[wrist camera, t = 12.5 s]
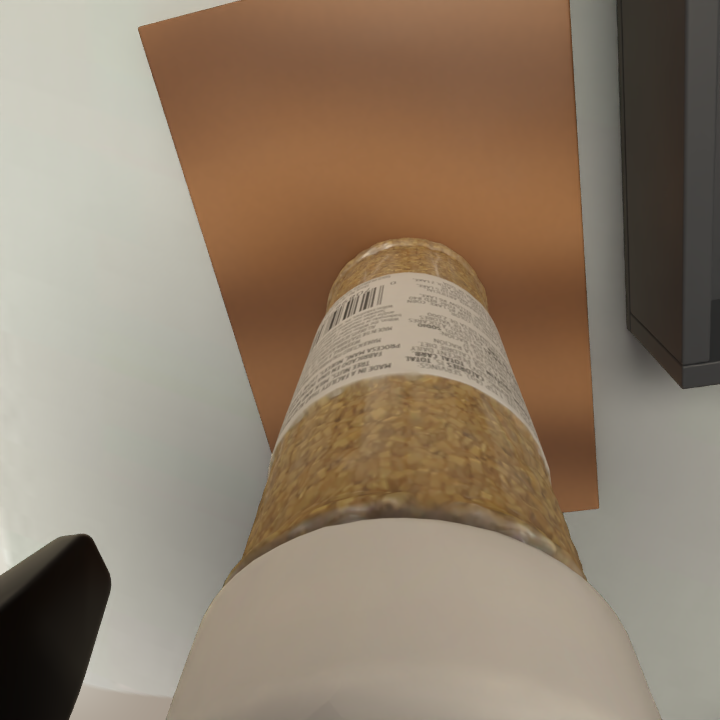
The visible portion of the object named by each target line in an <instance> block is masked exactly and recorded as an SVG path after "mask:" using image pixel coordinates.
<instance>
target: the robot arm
mask: <svg viewBox="0 0 720 720" xmlns="http://www.w3.org/2000/svg"><path fill="white" fill-rule="evenodd" d="M110 590H111V577H110V573H109V571H108V569H107V567H106V565H105V563H104V561H103V559H102V557H101V555H100V553H99V551H98V549H97V547H96V545H95V543H94V541H93V539H92V538H91V537H90V536H89V535H87V534H75V535H67V536H61V537H58V538H57V539H55V540H53V541H52V542H50V543H49V544H47V545H46V546H44V547H43V548H41V549H40V550H38V551H37V552H35V553H34V554H32V555H31V556H29V557H28V558H26V559H25V560H23V561H22V562H20V563H19V564H17V565H16V566H14V567H13V568H11V569H10V570H8V571H7V572H5V573H3V574H2V575H0V720H69V718H70V715H71V713H72V710H73V708H74V705H75V703H76V700H77V697H78V695H79V692H80V689H81V686H82V683H83V680H84V677H85V674H86V671H87V667H88V664H89V661H90V657H91V654H92V651H93V647H94V644H95V641H96V637H97V634H98V631H99V628H100V624H101V621H102V618H103V614H104V611H105V608H106V604H107V601H108V598H109V595H110Z"/></svg>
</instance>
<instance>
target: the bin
mask: <svg viewBox="0 0 720 720" xmlns="http://www.w3.org/2000/svg"><path fill="white" fill-rule="evenodd" d="M617 13H618V46H619V78H620V111H621V144H622V177H623V209H624V242H625V275H626V307H627V329H628V330H629V331H630V332H631V333H632V334H633V335H634V336H635V337H636V338H637V339H638V341H639V342H640V343H641V344H642V345H643V346H644V347H645V348H646V349H647V350H648V352H649V353H650V354H651V355H652V356H653V357H654V358H655V359H656V360H657V361H658V363H659V364H660V365H661V366H662V367H663V368H664V369H665V370H666V371H667V372H668V374H669V375H670V376H671V377H672V378H673V379H674V380H675V381H676V382H677V384H678V385H679V386H680V387H681V388H682V389H687V388H694V387H701V386H708V385H716V384H720V0H617Z"/></svg>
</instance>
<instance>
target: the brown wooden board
mask: <svg viewBox="0 0 720 720" xmlns="http://www.w3.org/2000/svg"><path fill="white" fill-rule="evenodd" d="M138 31H139V34H140V37H141V40H142V44H143V47H144V50H145V53H146V56H147V59H148V63H149V66H150V69H151V72H152V75H153V78H154V82H155V85H156V88H157V91H158V94H159V97H160V101H161V104H162V107H163V110H164V113H165V117H166V120H167V123H168V126H169V129H170V132H171V136H172V139H173V142H174V145H175V148H176V151H177V155H178V158H179V161H180V164H181V167H182V170H183V174H184V177H185V180H186V183H187V186H188V189H189V193H190V196H191V199H192V202H193V205H194V208H195V212H196V215H197V218H198V221H199V224H200V227H201V231H202V234H203V237H204V240H205V243H206V246H207V250H208V253H209V256H210V259H211V262H212V265H213V269H214V272H215V275H216V278H217V281H218V284H219V288H220V291H221V294H222V297H223V300H224V304H225V307H226V310H227V313H228V316H229V319H230V323H231V326H232V329H233V332H234V335H235V338H236V342H237V345H238V348H239V351H240V354H241V357H242V361H243V364H244V367H245V370H246V373H247V376H248V380H249V383H250V386H251V389H252V392H253V395H254V399H255V402H256V405H257V408H258V411H259V414H260V418H261V421H262V424H263V427H264V430H265V433H266V437H267V440H268V443H269V446H270V449H271V452H272V453H273V450H274V447H275V444H276V441H277V439H278V436H279V433H280V430H281V427H282V424H283V421H284V419H285V416H286V413H287V411H288V408H289V406H290V403H291V400H292V397H293V395H294V392H295V389H296V387H297V384H298V381H299V379H300V376H301V373H302V371H303V368H304V365H305V362H306V360H307V357H308V354H309V351H310V349H311V346H312V343H313V340H314V338H315V335H316V333H317V330H318V328H319V326H320V324H321V322H322V320H323V318H324V317H325V314H326V309H327V302H328V297H329V293H330V290H331V288H332V286H333V283H334V282H335V280H336V279H337V277H338V275H339V273H340V271H341V270H342V269H343V268H344V266H345V265H346V264H347V263H348V262H349V261H351V260H353V259H354V258H355V257H356V256H357V255H358V254H359V253H360V252H362V251H364V250H366V249H368V248H370V247H371V246H373V245H375V244H377V243H379V242H383V241H387V240H390V239H399V238H419V239H426V240H429V241H432V242H436V243H441V244H443V245H445V246H447V247H448V248H450V249H451V250H453V251H454V252H456V253H457V254H459V255H460V256H462V257H463V258H464V259H465V260H466V261H467V262H468V264H469V265H470V266H471V267H472V268H473V269H474V271H475V272H476V274H477V277H478V279H479V280H480V282H481V283H482V285H483V287H484V288H485V292H486V296H487V304H488V311H489V315H490V317H491V318H492V320H493V322H494V324H495V326H496V328H497V330H498V332H499V335H500V338H501V340H502V343H503V346H504V349H505V351H506V354H507V357H508V360H509V363H510V366H511V368H512V371H513V374H514V376H515V379H516V381H517V384H518V386H519V389H520V392H521V394H522V397H523V399H524V402H525V404H526V407H527V410H528V412H529V415H530V417H531V420H532V422H533V425H534V428H535V431H536V433H537V436H538V439H539V441H540V444H541V447H542V450H543V453H544V455H545V458H546V461H547V464H548V467H549V470H550V477H551V485H552V489H553V491H554V494H555V496H556V498H557V500H558V504H559V507H560V509H561V511H562V513H564V512H573V511H581V510H590V509H598V508H599V497H598V480H597V463H596V445H595V428H594V411H593V394H592V377H591V360H590V343H589V325H588V308H587V291H586V274H585V257H584V240H583V223H582V205H581V188H580V171H579V154H578V137H577V120H576V103H575V86H574V68H573V51H572V34H571V17H570V0H240V1H236V2H232V3H228V4H224V5H221V6H217V7H213V8H209V9H205V10H201V11H198V12H194V13H190V14H186V15H182V16H179V17H175V18H171V19H167V20H163V21H159V22H156V23H152V24H148V25H144V26H140V27H139V28H138Z"/></svg>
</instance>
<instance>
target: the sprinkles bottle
mask: <svg viewBox="0 0 720 720" xmlns="http://www.w3.org/2000/svg"><path fill="white" fill-rule="evenodd" d="M166 720H662V719H661V716H660V714H659V712H658V709H657V707H656V704H655V702H654V699H653V697H652V694H651V692H650V689H649V687H648V684H647V682H646V679H645V677H644V674H643V672H642V669H641V667H640V664H639V662H638V659H637V657H636V654H635V652H634V649H633V646H632V644H631V641H630V639H629V636H628V634H627V632H626V630H625V629H624V627H623V625H622V624H621V622H620V620H619V618H618V617H617V615H616V613H615V612H614V611H613V610H612V608H611V607H610V606H609V604H608V603H607V602H606V601H605V599H604V598H603V597H602V596H601V595H600V594H599V593H598V592H597V591H596V589H595V588H593V587H592V586H591V585H590V584H589V583H588V582H587V579H586V577H585V575H584V573H583V569H582V564H581V562H580V560H579V556H578V553H577V550H576V548H575V546H574V544H573V542H572V540H571V538H570V534H569V530H568V527H567V524H566V522H565V519H564V516H563V514H562V511H561V509H560V507H559V504H558V500H557V498H556V496H555V494H554V491H553V489H552V485H551V477H550V470H549V467H548V464H547V461H546V458H545V455H544V453H543V450H542V447H541V444H540V441H539V439H538V436H537V433H536V431H535V428H534V425H533V422H532V420H531V417H530V415H529V412H528V410H527V407H526V404H525V402H524V399H523V397H522V394H521V392H520V389H519V386H518V384H517V381H516V379H515V376H514V374H513V371H512V368H511V366H510V363H509V360H508V357H507V354H506V351H505V349H504V346H503V343H502V340H501V338H500V335H499V332H498V330H497V328H496V326H495V324H494V322H493V320H492V318H491V317H490V315H489V311H488V304H487V296H486V292H485V288H484V287H483V285H482V283H481V282H480V280H479V279H478V277H477V274H476V272H475V271H474V269H473V268H472V267H471V266H470V265H469V264H468V262H467V261H466V260H465V259H464V258H463V257H462V256H460V255H459V254H457V253H456V252H454V251H453V250H451V249H450V248H448V247H447V246H445V245H443V244H441V243H436V242H432V241H429V240H426V239H419V238H399V239H390V240H387V241H383V242H379V243H377V244H375V245H373V246H371V247H370V248H368V249H366V250H364V251H362V252H360V253H359V254H358V255H357V256H356V257H355V258H354V259H353V260H351V261H349V262H348V263H347V264H346V265H345V266H344V268H343V269H342V270H341V271H340V273H339V275H338V277H337V279H336V280H335V282H334V283H333V286H332V288H331V290H330V293H329V297H328V302H327V309H326V314H325V317H324V318H323V320H322V322H321V324H320V326H319V328H318V330H317V333H316V335H315V338H314V340H313V343H312V346H311V349H310V351H309V354H308V357H307V360H306V362H305V365H304V368H303V371H302V373H301V376H300V379H299V381H298V384H297V387H296V389H295V392H294V395H293V397H292V400H291V403H290V406H289V408H288V411H287V413H286V416H285V419H284V421H283V424H282V427H281V430H280V433H279V436H278V439H277V441H276V444H275V447H274V450H273V453H272V456H271V460H270V465H269V469H268V477H267V484H266V486H265V489H264V491H263V495H262V499H261V501H260V504H259V507H258V511H257V515H256V518H255V521H254V524H253V527H252V530H251V533H250V535H249V538H248V541H247V545H246V548H245V551H244V554H243V556H242V559H241V560H240V562H239V563H238V564H237V565H236V566H235V567H234V568H233V569H232V571H231V572H230V574H229V576H228V577H227V579H226V580H225V582H224V585H223V588H222V589H221V591H220V592H219V593H218V594H217V596H216V597H215V598H214V599H213V601H212V603H211V604H210V606H209V608H208V609H207V611H206V613H205V615H204V616H203V619H202V621H201V624H200V626H199V629H198V632H197V634H196V637H195V639H194V642H193V645H192V647H191V650H190V653H189V655H188V658H187V661H186V664H185V666H184V669H183V672H182V675H181V677H180V680H179V683H178V686H177V689H176V691H175V694H174V697H173V700H172V703H171V706H170V709H169V712H168V715H167V718H166Z"/></svg>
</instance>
